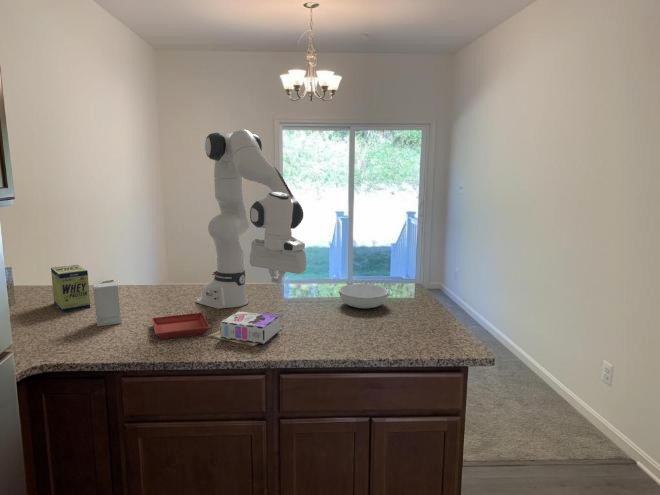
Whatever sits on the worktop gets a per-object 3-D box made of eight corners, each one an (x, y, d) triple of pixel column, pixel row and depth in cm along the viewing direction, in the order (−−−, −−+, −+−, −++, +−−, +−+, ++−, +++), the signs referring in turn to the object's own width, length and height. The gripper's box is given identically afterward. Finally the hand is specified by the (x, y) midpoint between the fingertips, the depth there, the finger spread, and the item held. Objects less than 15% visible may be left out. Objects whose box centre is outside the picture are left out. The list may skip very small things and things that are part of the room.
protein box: (62, 312, 184) (59, 274, 182) (53, 303, 196) (50, 267, 193) (91, 307, 191) (88, 270, 188) (80, 299, 203) (78, 264, 200)
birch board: (209, 337, 161) (209, 335, 161) (241, 321, 177) (241, 320, 177) (253, 346, 154) (253, 344, 154) (282, 329, 170) (282, 327, 170)
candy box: (264, 327, 153) (219, 321, 157) (264, 344, 154) (219, 338, 158) (280, 314, 166) (238, 310, 170) (280, 330, 167) (238, 325, 171)
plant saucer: (152, 325, 172) (151, 317, 172) (202, 320, 180) (201, 311, 179) (155, 342, 156) (155, 333, 156) (210, 335, 164) (210, 326, 163)
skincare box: (120, 319, 178) (118, 281, 175) (121, 324, 172) (119, 284, 170) (96, 322, 174) (93, 283, 172) (96, 327, 169) (93, 287, 166)
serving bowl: (331, 309, 195) (331, 293, 194) (348, 296, 214) (348, 281, 213) (379, 315, 188) (380, 299, 186) (392, 302, 207) (393, 287, 205)
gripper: (246, 239, 156) (245, 279, 158) (299, 247, 147) (298, 289, 150) (257, 237, 161) (256, 276, 164) (309, 244, 153) (307, 285, 155)
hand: (276, 282), depth 157 cm, fingers closed
